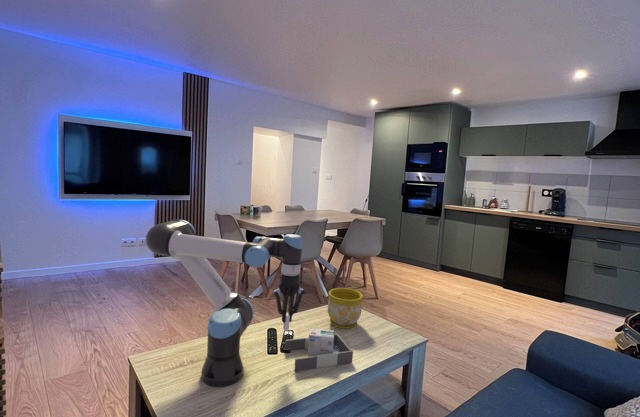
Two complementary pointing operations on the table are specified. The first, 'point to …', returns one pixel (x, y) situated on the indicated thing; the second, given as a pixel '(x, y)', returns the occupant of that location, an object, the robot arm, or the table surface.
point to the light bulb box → (320, 342)
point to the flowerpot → (344, 307)
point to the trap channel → (320, 360)
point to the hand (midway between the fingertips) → (285, 329)
